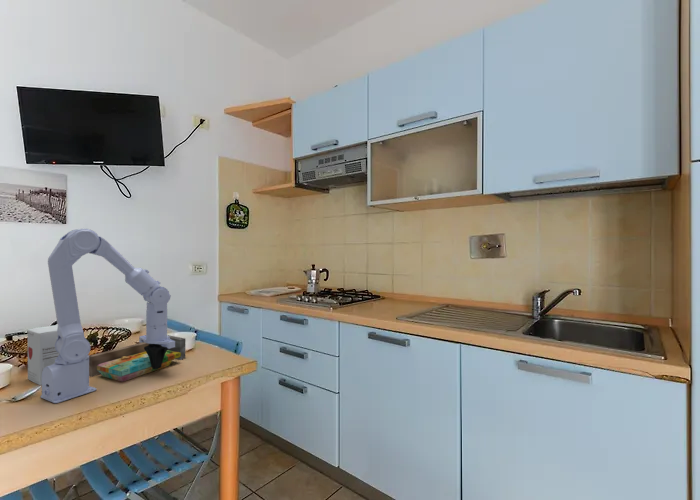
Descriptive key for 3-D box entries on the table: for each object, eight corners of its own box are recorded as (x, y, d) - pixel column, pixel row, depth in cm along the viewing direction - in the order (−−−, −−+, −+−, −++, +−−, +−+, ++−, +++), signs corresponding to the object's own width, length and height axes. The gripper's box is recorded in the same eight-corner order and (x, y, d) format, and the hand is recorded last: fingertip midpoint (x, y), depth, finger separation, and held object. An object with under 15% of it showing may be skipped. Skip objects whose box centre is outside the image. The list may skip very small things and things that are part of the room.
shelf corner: (110, 382, 102) (110, 358, 102) (88, 375, 107) (88, 352, 107) (185, 358, 124) (185, 338, 124) (164, 353, 129) (164, 334, 129)
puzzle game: (96, 362, 106) (157, 345, 124) (96, 378, 106) (157, 359, 124) (121, 368, 101) (181, 350, 119) (121, 384, 101) (181, 363, 119)
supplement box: (26, 379, 103) (26, 328, 103) (63, 370, 111) (63, 323, 111) (39, 386, 99) (39, 333, 99) (76, 376, 107) (76, 326, 106)
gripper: (183, 324, 110) (183, 367, 110) (154, 319, 116) (154, 360, 116) (163, 329, 103) (162, 375, 103) (132, 323, 110) (132, 367, 110)
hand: (156, 368), depth 109 cm, fingers closed
